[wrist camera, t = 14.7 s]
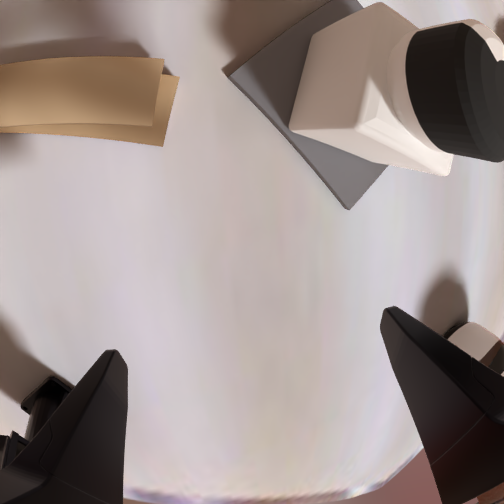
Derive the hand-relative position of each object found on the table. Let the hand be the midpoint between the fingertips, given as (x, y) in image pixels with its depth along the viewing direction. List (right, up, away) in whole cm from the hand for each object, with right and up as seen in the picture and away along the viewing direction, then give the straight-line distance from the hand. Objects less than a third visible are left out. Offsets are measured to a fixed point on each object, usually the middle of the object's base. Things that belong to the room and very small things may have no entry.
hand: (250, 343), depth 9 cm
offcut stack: (-11, +12, +4) cm, 16 cm away
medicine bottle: (+6, +13, +9) cm, 17 cm away
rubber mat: (+7, +14, +9) cm, 18 cm away
